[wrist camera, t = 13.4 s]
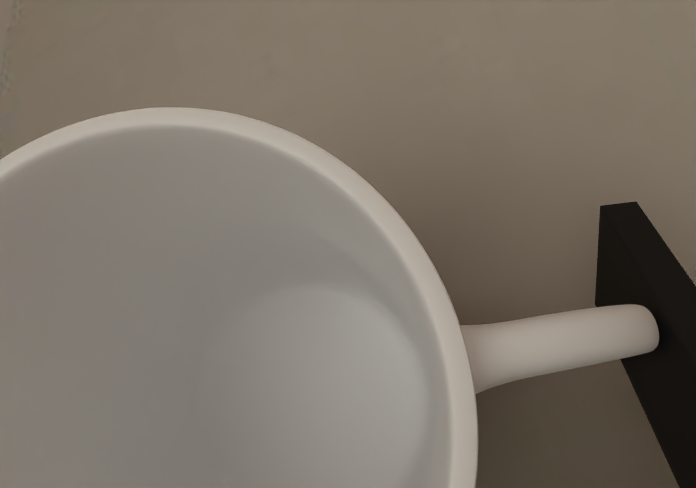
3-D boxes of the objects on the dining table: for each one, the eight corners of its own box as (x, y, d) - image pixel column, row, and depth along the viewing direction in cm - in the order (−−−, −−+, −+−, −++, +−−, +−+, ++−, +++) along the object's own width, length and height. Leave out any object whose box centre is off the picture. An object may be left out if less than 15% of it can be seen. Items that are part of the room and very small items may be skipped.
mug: (552, 229, 19) (723, -5, 8) (604, 535, 17) (936, 836, 6) (173, 275, 21) (-168, 134, 9) (183, 565, 19) (-232, 859, 7)
